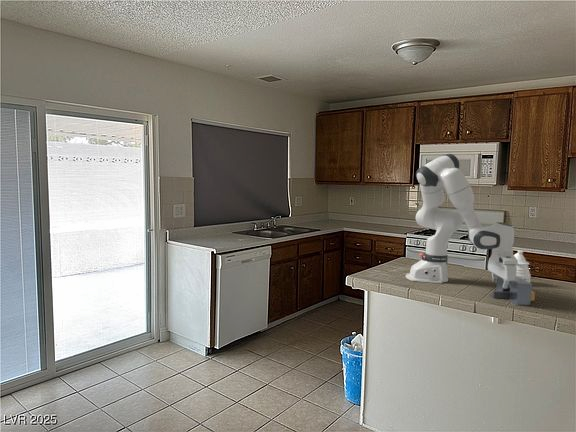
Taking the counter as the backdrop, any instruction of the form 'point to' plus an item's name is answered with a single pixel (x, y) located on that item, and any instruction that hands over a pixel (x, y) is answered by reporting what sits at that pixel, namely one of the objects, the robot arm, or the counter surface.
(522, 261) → the honey pot
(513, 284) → the grey block
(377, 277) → the counter surface
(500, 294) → the plug
